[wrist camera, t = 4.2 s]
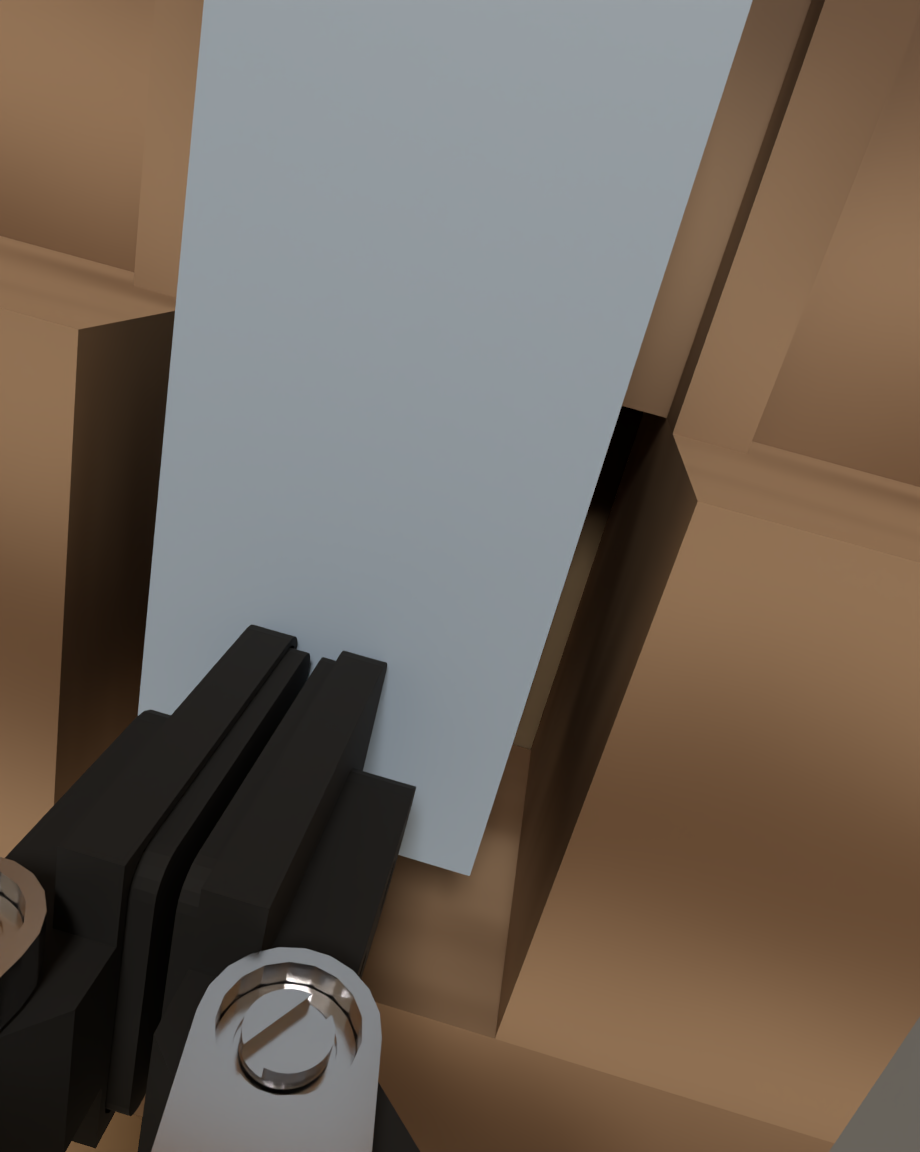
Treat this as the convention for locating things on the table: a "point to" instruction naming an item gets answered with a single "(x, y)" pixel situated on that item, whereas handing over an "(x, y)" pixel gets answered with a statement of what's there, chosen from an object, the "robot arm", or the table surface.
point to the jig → (603, 620)
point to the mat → (889, 1106)
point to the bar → (414, 344)
